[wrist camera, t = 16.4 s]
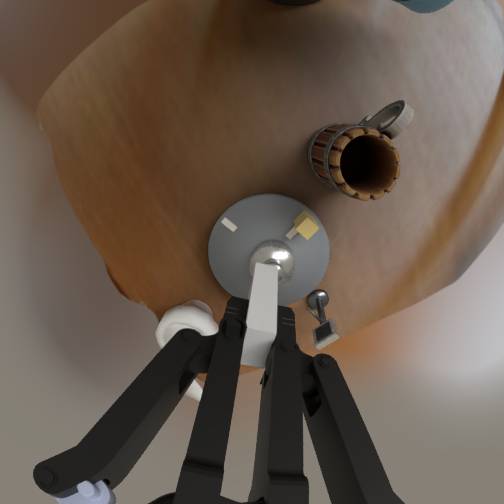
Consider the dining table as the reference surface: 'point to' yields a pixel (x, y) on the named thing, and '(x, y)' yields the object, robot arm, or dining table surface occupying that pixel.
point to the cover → (275, 259)
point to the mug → (361, 153)
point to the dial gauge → (322, 320)
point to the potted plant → (187, 316)
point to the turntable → (266, 228)
